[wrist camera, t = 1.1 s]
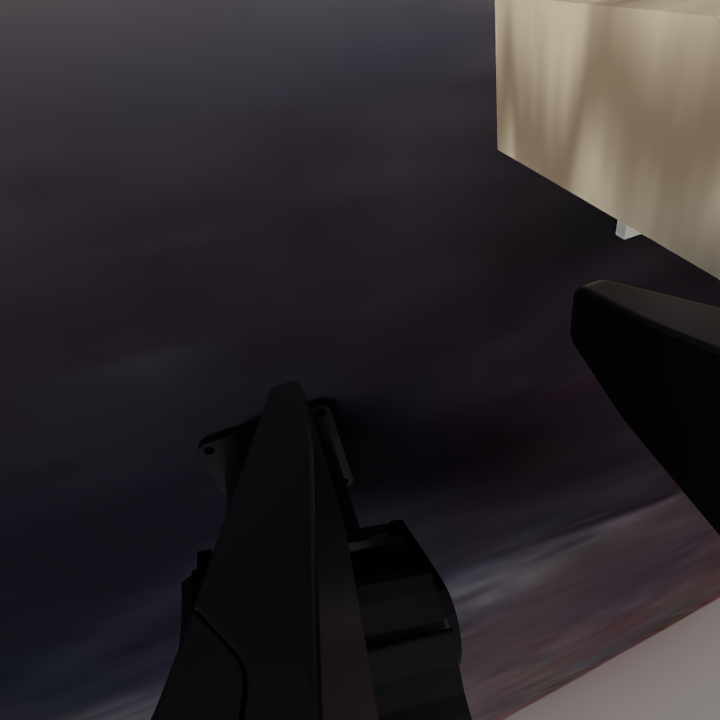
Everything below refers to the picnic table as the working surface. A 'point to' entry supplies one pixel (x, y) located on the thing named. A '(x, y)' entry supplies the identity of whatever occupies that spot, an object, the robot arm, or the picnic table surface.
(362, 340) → the picnic table surface
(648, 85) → the birch block
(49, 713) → the picnic table surface
